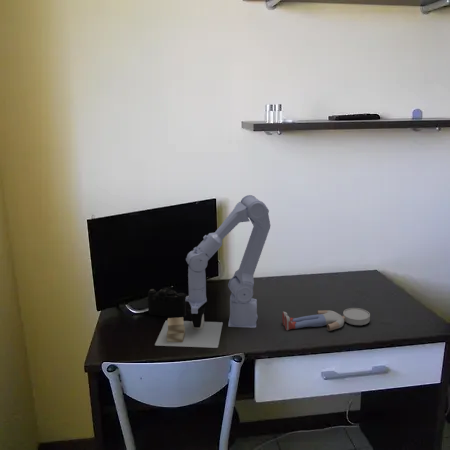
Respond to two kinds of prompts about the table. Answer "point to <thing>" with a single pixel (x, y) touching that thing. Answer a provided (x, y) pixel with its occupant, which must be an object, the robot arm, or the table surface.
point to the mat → (194, 335)
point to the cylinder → (201, 324)
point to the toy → (328, 319)
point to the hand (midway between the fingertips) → (198, 323)
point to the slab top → (175, 325)
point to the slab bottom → (176, 337)
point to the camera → (166, 303)
